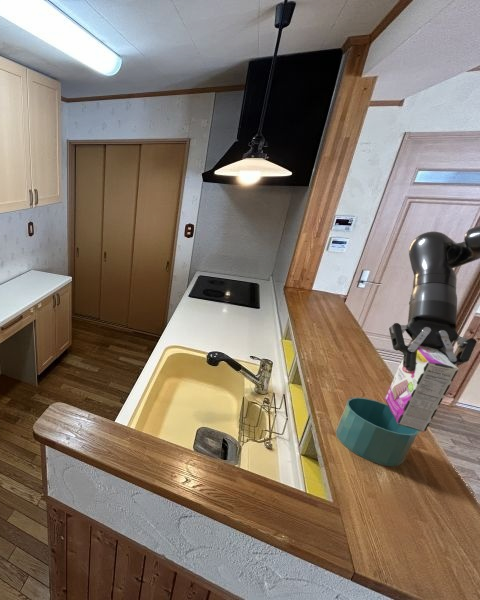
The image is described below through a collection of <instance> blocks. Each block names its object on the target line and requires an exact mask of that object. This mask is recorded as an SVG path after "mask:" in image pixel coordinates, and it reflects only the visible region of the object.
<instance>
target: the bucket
mask: <svg viewBox="0 0 480 600" xmlns="http://www.w3.org/2000/svg"><path fill="white" fill-rule="evenodd" d="M420 433H421V431H419V430H416V429H412V428H409V427H405V426H402V425H399V424H398V423H397V421H396V419H395V417H394V415H393V414H392V412H391V410H390V408H389V406H388V404H387V403H383V402H381V401H378V400H375V399H370V398H366V397H351V398H349V399H348V400H347V401H346V404H345V406H344V409H343V411H342V413H341V416H340V418H339V420H338V423H337V425H336V429H335V436H336V437H337V439H338V441H339V442H340V443H341V444H342V445H343V446H344V447H345V448H347V450H350V451H351V452H352V453H354V454H356V455H357V456H359V457H360V458H363V459H365V460H367V461H370V462H372V463H374V464H378V465H382V466H386V467H399V466H402V464H404V462H405V460H406V458H407V457H408V455H409V453H410V451H411V449H412V447H413V445H414V444H415V441H416V440H417V437H419V434H420Z"/></svg>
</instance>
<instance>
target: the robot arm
mask: <svg viewBox="0 0 480 600" xmlns="http://www.w3.org/2000/svg"><path fill="white" fill-rule="evenodd" d="M463 238H464V240H463V241H461V242H456V241H455V240H453V239H452V238H451V237H449V236H448V235H447V234H445V233H443V232H439V231H427V232H423V233H421V234H419V235H417V236H416V237H415V238H414V239H413V240H412V242H411V243H410V245H409V249H408V257H409V262H410V265H411V270H412V273H413V282H412V291H411V294H410V297H409V302H408V306H409V307H408V317H407V324H400V323H398V322H395V323H393V324H392V325H391V326H389V328H388V330H389V336H390V340H391V344H392V348H393V349H392V350H394V351H396V352H401V353H402V354H403V357H404V358H403V357H402V359H403V366H404V367H406V370H407V371H412V370H414V368H415V361H416V353H414V352H415V351H416V349H417V348H418V347H419V345H420V346H427V347H430V348H434V349H439V351H441V352H442V353H443V354H444V355H445V356H446V357H447V358H448V359H449V360H450V361H451V362H452V363H453V364H454V365H455V366H461V365H463V364H464V363H467V362H469V361H470V359H471V356H472V354H473V352H474V349H475V348H476V345H477V339H476V338H473V337H470V338H465V337H462V336H460V335H459V333H458V332H457V329H456V328H457V320H458V319H457V317H458V294H457V280H458V279H457V278H458V277H457V273H456V271H455V270H454V269H455V268H459V267H462V266H464V265H467V264H469V263H472V262H475V261H478V260H480V225H478V226H474V227H471V228H470V229H468V230H467V231H466V233H465V234H464V237H463ZM404 333H406V334H407V335H408V336H409V338H411V340H410V341H409V342H408V344H407V345H406V343H405V339H404ZM453 342H456V345H457V348H459V349H458V351H457V353H456V354H455V352H454V346H453V345H452V343H453Z"/></svg>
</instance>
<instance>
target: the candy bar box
mask: <svg viewBox="0 0 480 600" xmlns="http://www.w3.org/2000/svg"><path fill="white" fill-rule="evenodd" d="M414 353H416V361H415V368H414V370H412V371H407V370H406V367H404V366H403V358H404V356H402V359H401V361H400V363H399V366H398V368H397V370H396V372H395V375H394V376H393V379H392V380H391V381H392V382H391V383H390V385H389V387H388V390H387V392H386V394H385V396H384V401H385V402H386V405H388V406H389V408H390V410H391V412H392V414H393V415H394V417H395V419H396V421H397V423H398V424H399V425H402V426H405V427H409V428H412V429H416V430H419V431H420V432H422V433H426V431H427V429H428V428H429V426H430V424H431V422H432V420H433V419H434V416H435V415H436V412H437V411H438V409H439V407H440V405H441V404H442V402H443V400H444V398H445V397H446V394H447V393H448V391H449V389H450V387H451V385H452V383H453V381H454V379H455V377H456V375H457V374H458V372H459V370H460V369H459V367H458V366H457V365H456V364H455V365H454V364H453V363H452V362H451V361H450V360H449V359H448V358H447V357H446V356H445V355H444V354H443V353H442V352H441V351H439V349H434V348H430V347H427V346H420V345H419V347H418V348H417V349H416V351H415V352H414Z"/></svg>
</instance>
